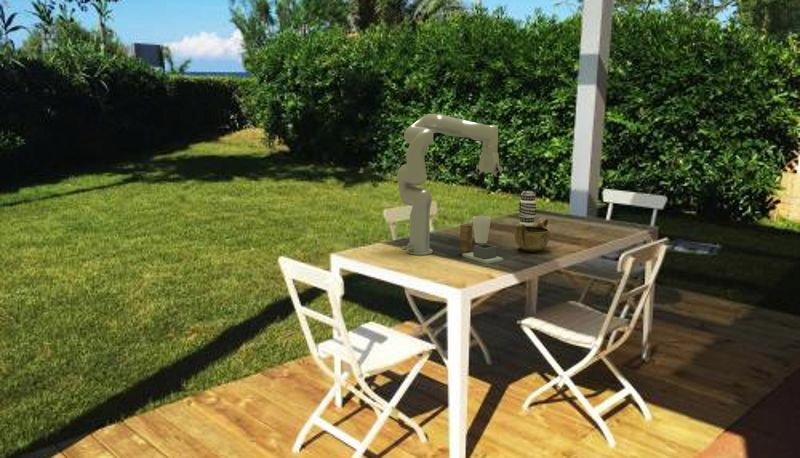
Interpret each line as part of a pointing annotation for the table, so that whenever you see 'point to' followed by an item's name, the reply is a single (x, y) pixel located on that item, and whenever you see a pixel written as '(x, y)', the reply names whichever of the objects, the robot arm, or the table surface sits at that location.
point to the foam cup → (481, 228)
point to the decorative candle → (527, 208)
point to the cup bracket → (484, 254)
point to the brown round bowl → (532, 236)
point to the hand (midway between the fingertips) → (488, 183)
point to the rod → (465, 238)
